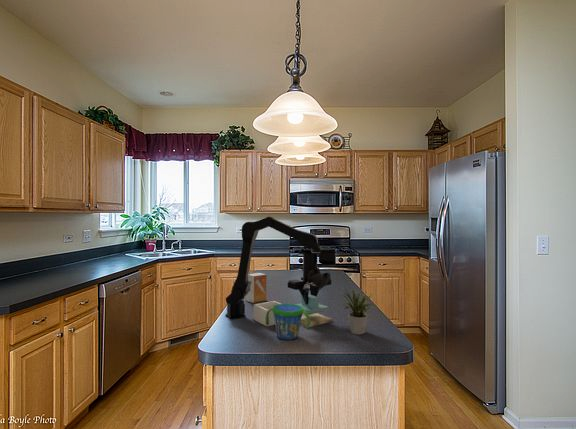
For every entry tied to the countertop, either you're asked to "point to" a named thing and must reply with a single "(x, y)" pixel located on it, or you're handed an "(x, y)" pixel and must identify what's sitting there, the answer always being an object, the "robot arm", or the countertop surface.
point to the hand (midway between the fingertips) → (309, 304)
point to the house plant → (357, 313)
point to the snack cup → (287, 320)
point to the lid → (312, 305)
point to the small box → (257, 287)
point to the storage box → (264, 312)
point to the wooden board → (314, 320)
